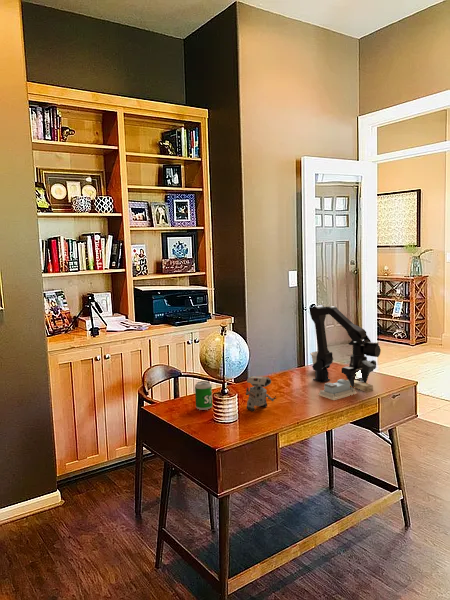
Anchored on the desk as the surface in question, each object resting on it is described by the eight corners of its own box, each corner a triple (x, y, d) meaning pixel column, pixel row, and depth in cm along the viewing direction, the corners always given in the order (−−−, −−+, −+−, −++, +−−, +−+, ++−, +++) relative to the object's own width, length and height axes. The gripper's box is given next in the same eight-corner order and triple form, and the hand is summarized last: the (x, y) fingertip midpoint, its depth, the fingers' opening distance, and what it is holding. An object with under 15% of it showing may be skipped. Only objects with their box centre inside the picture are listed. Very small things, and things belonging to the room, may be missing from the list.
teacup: (323, 376, 268) (323, 358, 267) (306, 370, 281) (305, 353, 280) (340, 372, 274) (340, 354, 273) (322, 367, 287) (322, 350, 286)
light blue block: (342, 388, 241) (342, 378, 241) (349, 391, 237) (349, 381, 237) (324, 393, 235) (324, 383, 234) (332, 396, 231) (331, 385, 230)
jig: (333, 400, 228) (333, 395, 228) (318, 395, 236) (318, 390, 236) (356, 393, 236) (356, 388, 236) (340, 389, 244) (340, 384, 244)
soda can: (200, 412, 219) (198, 386, 217) (193, 407, 225) (192, 382, 224) (215, 409, 222) (214, 383, 221) (208, 404, 229) (207, 379, 227)
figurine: (262, 415, 212) (261, 381, 211) (244, 408, 221) (243, 376, 219) (276, 410, 218) (276, 377, 216) (258, 404, 227) (257, 372, 225)
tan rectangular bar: (345, 385, 250) (345, 380, 250) (351, 384, 252) (351, 378, 252) (367, 392, 239) (367, 386, 238) (372, 391, 241) (372, 385, 240)
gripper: (358, 360, 232) (358, 392, 234) (384, 354, 242) (384, 385, 244) (340, 356, 241) (340, 387, 243) (366, 350, 251) (366, 380, 253)
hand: (358, 384), depth 245 cm, fingers open, 8 cm apart
